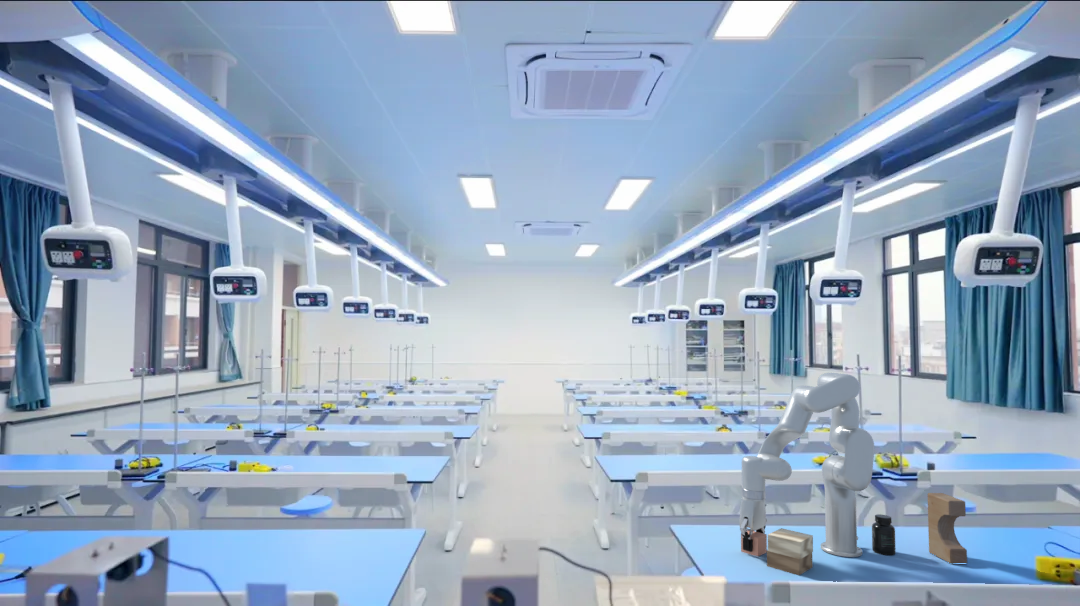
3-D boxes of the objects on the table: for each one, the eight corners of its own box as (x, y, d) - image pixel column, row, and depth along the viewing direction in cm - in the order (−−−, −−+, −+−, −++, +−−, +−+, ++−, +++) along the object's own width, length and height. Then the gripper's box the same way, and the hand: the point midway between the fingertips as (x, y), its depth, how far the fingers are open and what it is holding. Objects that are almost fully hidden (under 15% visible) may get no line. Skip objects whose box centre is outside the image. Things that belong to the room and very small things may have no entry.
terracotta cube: (749, 548, 204) (749, 530, 205) (766, 552, 200) (766, 534, 200) (741, 551, 200) (741, 533, 200) (758, 556, 196) (757, 538, 196)
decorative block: (968, 565, 191) (966, 501, 193) (950, 564, 191) (948, 501, 193) (945, 552, 202) (943, 492, 204) (928, 552, 202) (926, 492, 204)
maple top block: (781, 543, 194) (781, 528, 195) (813, 551, 187) (812, 535, 188) (767, 550, 187) (767, 534, 188) (800, 559, 180) (800, 542, 181)
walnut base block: (781, 559, 194) (780, 543, 194) (812, 568, 187) (812, 551, 187) (767, 567, 187) (766, 550, 187) (799, 576, 180) (798, 559, 180)
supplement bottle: (870, 547, 206) (870, 512, 207) (893, 550, 204) (892, 514, 205) (874, 554, 200) (873, 517, 201) (897, 557, 197) (896, 520, 198)
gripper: (755, 488, 210) (755, 539, 209) (730, 496, 198) (730, 550, 197) (776, 492, 204) (776, 545, 203) (751, 500, 193) (751, 557, 191)
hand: (753, 547), depth 200 cm, fingers open, 7 cm apart
